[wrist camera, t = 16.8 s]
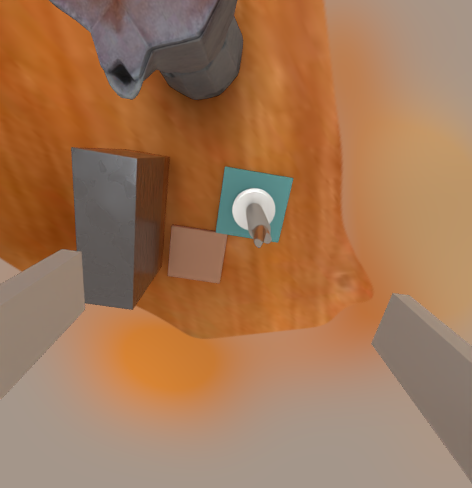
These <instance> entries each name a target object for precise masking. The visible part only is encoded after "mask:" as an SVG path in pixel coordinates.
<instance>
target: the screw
mask: <svg viewBox="0 0 472 488" xmlns="http://www.w3.org/2000/svg"><path fill="white" fill-rule="evenodd" d="M232 213H233V217H234V219H235V221H236V223H237V224H238V225H239V226H240V227H242V228H244V229H246V230H248V231H249V234H250V236H251V237H252V238H253V239H254V243H255V245H256V246H257V247H258V248H260V247H261V245H262V244H263V242H264V243H267V244H268V243H270V242H271V241H272V238H271V235H270V233H271V227H270V223H271V221H272V220H273V217H274V215H275V204H274V201H273V199H272V197H271V196H270V195H269V194H268V193H267V192H266V191H264V190H262V189H258V188H250V189H246V190H244V191H242V192H241V193H240V194H239V195H238V196H237V197H236V199H235V200H234V203H233V207H232Z"/></svg>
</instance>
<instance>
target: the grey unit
mask: <svg viewBox="0 0 472 488" xmlns="http://www.w3.org/2000/svg"><path fill="white" fill-rule="evenodd" d="M71 151H72V169H73V188H74V206H75V224H76V243H77V251H79V252H82V268H83V284H84V300H85V303H88V304H95V305H102V306H109V307H116V308H124V309H132V310H133V308H134V307H135V305H136V304H137V302H138V301H139V299H140V298H141V296H142V295H143V293H144V292H145V290H146V289H147V287H148V286H149V284H150V283H151V282H152V280H153V279H154V277H155V276H156V274H157V273H158V271H159V270H160V268H161V267H162V256H163V242H164V228H165V214H166V200H167V185H168V171H169V157H167V156H161V155H155V154H150V153H144V152H138V151H132V150H126V149H102V148H77V147H71Z"/></svg>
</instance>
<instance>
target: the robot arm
mask: <svg viewBox="0 0 472 488" xmlns="http://www.w3.org/2000/svg"><path fill="white" fill-rule="evenodd" d="M84 310H85V300H84V284H83V268H82V252H79V251H72V250H64V249H61V250H59V251H58V252H56V253H54V254H52V255H51V256H49V257H47V258H45V259H44V260H42V261H40V262H38V263H37V264H35V265H33V266H31V267H30V268H28V269H26V270H24V271H23V272H21V273H19V274H17V275H16V276H14V277H12V278H10V279H9V280H7V281H5V282H3V283H2V284H0V400H1V399H2V398H3V397H4V396H5V395H6V394H7V393H8V392H9V390H10V389H11V388H12V387H13V386H14V385H15V384H16V383H17V382H18V381H19V380H20V379H21V378H22V377H23V375H24V374H25V373H26V372H27V371H28V370H29V369H30V368H31V367H32V366H33V365H34V364H35V363H36V361H38V359H39V358H40V357H41V356H42V355H43V354H44V353H45V352H46V351H47V350H48V349H49V348H50V347H51V346H52V344H53V343H54V342H55V341H56V340H57V339H58V338H59V337H60V336H61V335H62V334H63V333H64V332H65V331H66V330H67V328H68V327H69V326H70V325H71V324H72V323H73V322H74V321H75V320H76V319H77V318H78V316H80V315H81V313H82V312H83V311H84ZM372 345H373V347H374V348H375V349H376V351H377V352H378V353H379V355H380V356H381V358H382V359H383V360H384V362H385V363H386V365H387V366H388V367H389V369H390V370H391V372H392V373H393V374H394V376H395V377H396V378H397V380H398V381H399V382H400V384H401V385H402V387H403V388H404V390H405V391H406V392H407V394H408V395H409V396H410V398H411V399H412V401H413V402H414V403H415V405H416V406H417V407H418V409H419V410H420V412H421V413H422V415H423V416H424V417H425V419H426V420H427V421H428V423H429V424H430V426H431V427H432V428H433V430H434V431H435V432H436V434H437V435H438V437H439V438H440V440H441V441H442V442H443V444H444V445H445V446H446V448H447V449H448V451H449V452H450V453H451V455H452V456H453V458H454V459H455V460H456V462H457V463H458V465H459V466H460V467H461V468H462V470H463V471H464V473H465V474H466V476H467V477H468V478H469V480H470V481H471V482H472V346H471V345H470V344H468V343H467V342H466V341H465V340H464V339H462V338H461V337H460V336H458V335H457V334H456V333H455V332H454V331H452V330H451V329H450V328H449V327H448V326H446V325H445V324H444V323H443V322H441V321H440V320H439V319H438V318H437V317H435V316H434V315H433V314H432V313H430V312H429V311H428V310H427V309H426V308H424V307H423V306H422V305H420V304H419V303H418V302H417V301H416V300H414V299H413V298H412V297H411V296H409V295H403V294H395V293H393V294H392V296H391V299H390V301H389V303H388V305H387V308H386V310H385V313H384V315H383V317H382V320H381V322H380V324H379V327H378V329H377V332H376V334H375V336H374V339H373V341H372Z"/></svg>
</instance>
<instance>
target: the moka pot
mask: <svg viewBox="0 0 472 488" xmlns="http://www.w3.org/2000/svg"><path fill="white" fill-rule="evenodd" d="M49 1H50V2H51V3H53V4H54V5H55V6H56V7H57V8H59V9H60V10H62V11H63V12H65V13H66V14H67V15H69V16H70V17H72V18H73V19H75V20H76V21H77V22H79V23H80V24H81V25H82V26H83V27H85V28H86V29H87V30H88V31H89V32H91V35H92V38H93V41H94V44H95V48H96V51H97V54H98V58H99V61H100V65H101V67H102V68H103V70H104V72H105V74H106V77H107V79H108V82H109V84H110V86H111V87H112V89H113V90H114V91H115V92H116V93H117V94H118V95H119V96H120V97H122V98H127V99H132V100H133V99H134V98H135V97H136V96H137V95H138V93H139V91H140V89H141V86H142V83H143V81H144V80H145V79H147V78H148V77H149V76H150V75H151V74H152V73H153V72H154V71H155V70H159V71H160V72H161V74H162V75H163V76H164V78H165V80H166V81H167V83H168V84H169V86H171V87H172V88H174V89H175V90H177V91H178V92H180V93H182V94H184V95H185V96H187V97H190V98H191V99H195V100H198V99H206V98H211V97H214V96H218V95H220V94H221V93H222V92H223V91H224V90H225V89H226V88H227V87H228V86H229V85H230V84H231V83H232V81H233V80H234V79H235V78H236V76H237V75H238V73H239V69H240V63H241V55H242V49H243V38H242V34H241V32H240V29H239V27H238V24H237V22H236V19H235V17H234V13H235V8H236V3H237V0H49Z"/></svg>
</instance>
